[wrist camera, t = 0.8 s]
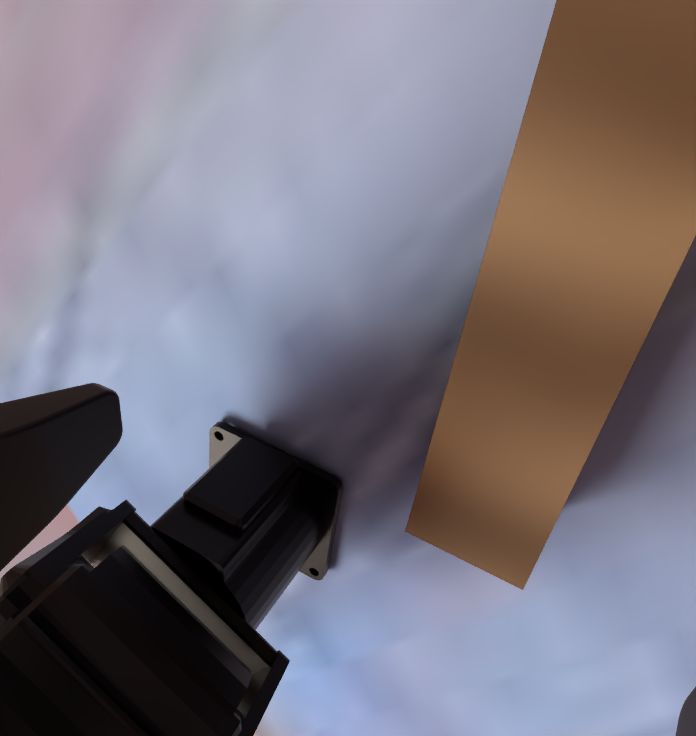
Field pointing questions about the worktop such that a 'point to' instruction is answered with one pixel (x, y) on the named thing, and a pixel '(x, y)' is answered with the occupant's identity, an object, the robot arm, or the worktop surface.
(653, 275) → the walnut bar
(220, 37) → the worktop surface
